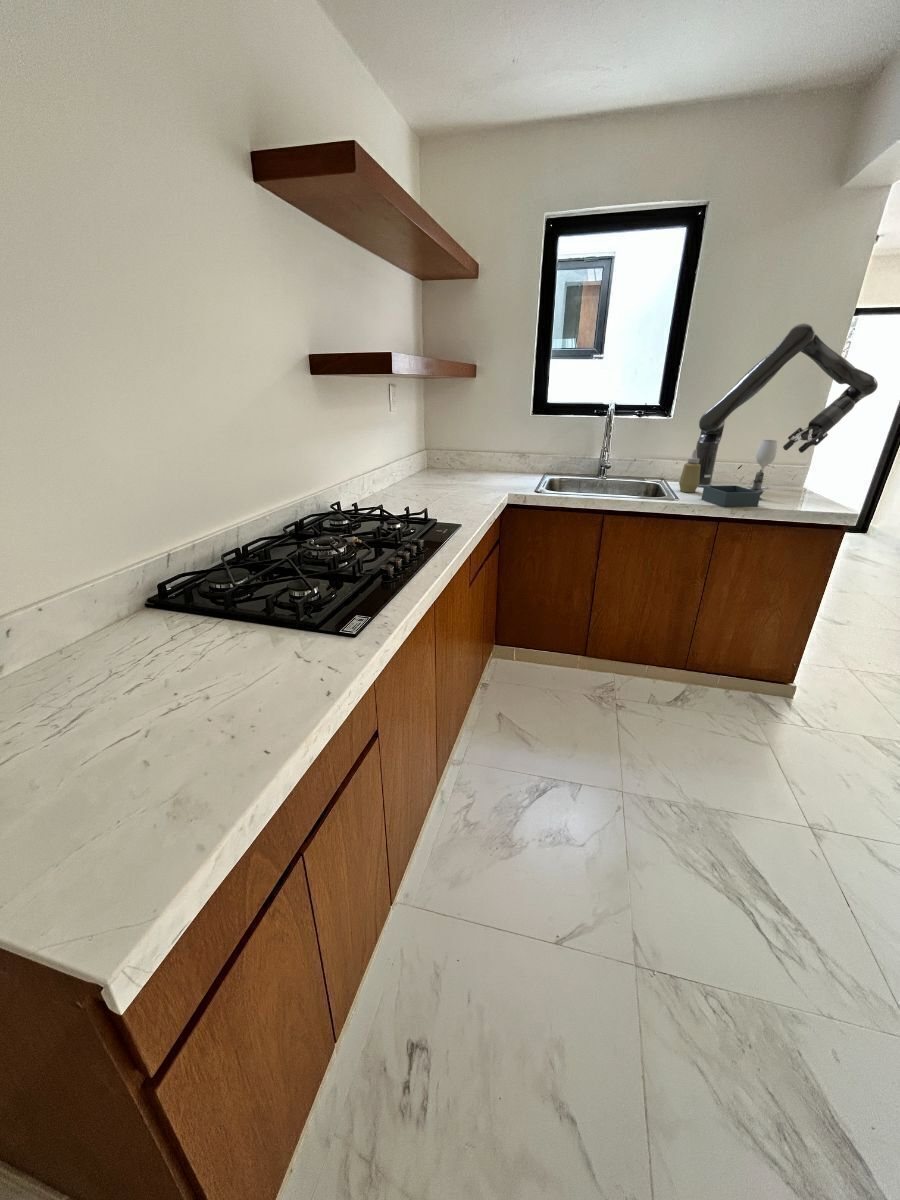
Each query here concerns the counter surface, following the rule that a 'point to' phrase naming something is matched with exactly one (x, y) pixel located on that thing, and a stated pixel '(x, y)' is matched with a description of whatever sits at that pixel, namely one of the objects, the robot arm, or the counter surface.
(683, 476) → the squeeze bottle
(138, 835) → the counter surface
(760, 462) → the wineglass
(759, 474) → the salt shaker
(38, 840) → the counter surface
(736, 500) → the bin
